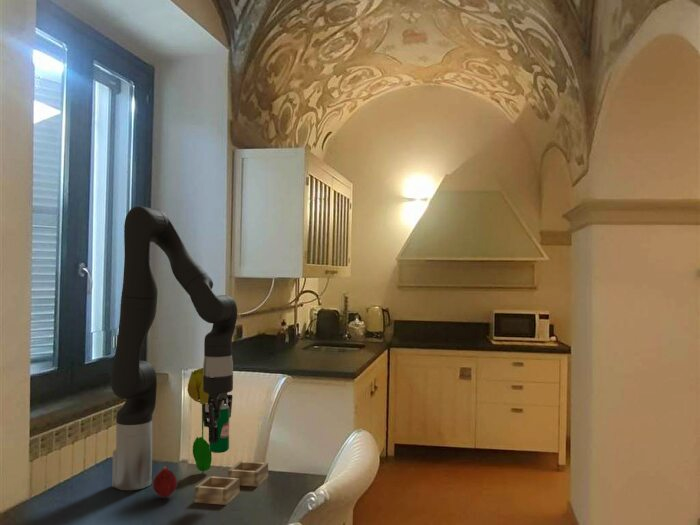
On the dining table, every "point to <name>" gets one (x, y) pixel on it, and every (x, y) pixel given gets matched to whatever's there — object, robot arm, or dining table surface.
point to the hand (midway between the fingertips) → (217, 439)
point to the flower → (200, 445)
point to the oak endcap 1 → (217, 490)
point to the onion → (165, 483)
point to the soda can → (222, 432)
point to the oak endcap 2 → (249, 473)
